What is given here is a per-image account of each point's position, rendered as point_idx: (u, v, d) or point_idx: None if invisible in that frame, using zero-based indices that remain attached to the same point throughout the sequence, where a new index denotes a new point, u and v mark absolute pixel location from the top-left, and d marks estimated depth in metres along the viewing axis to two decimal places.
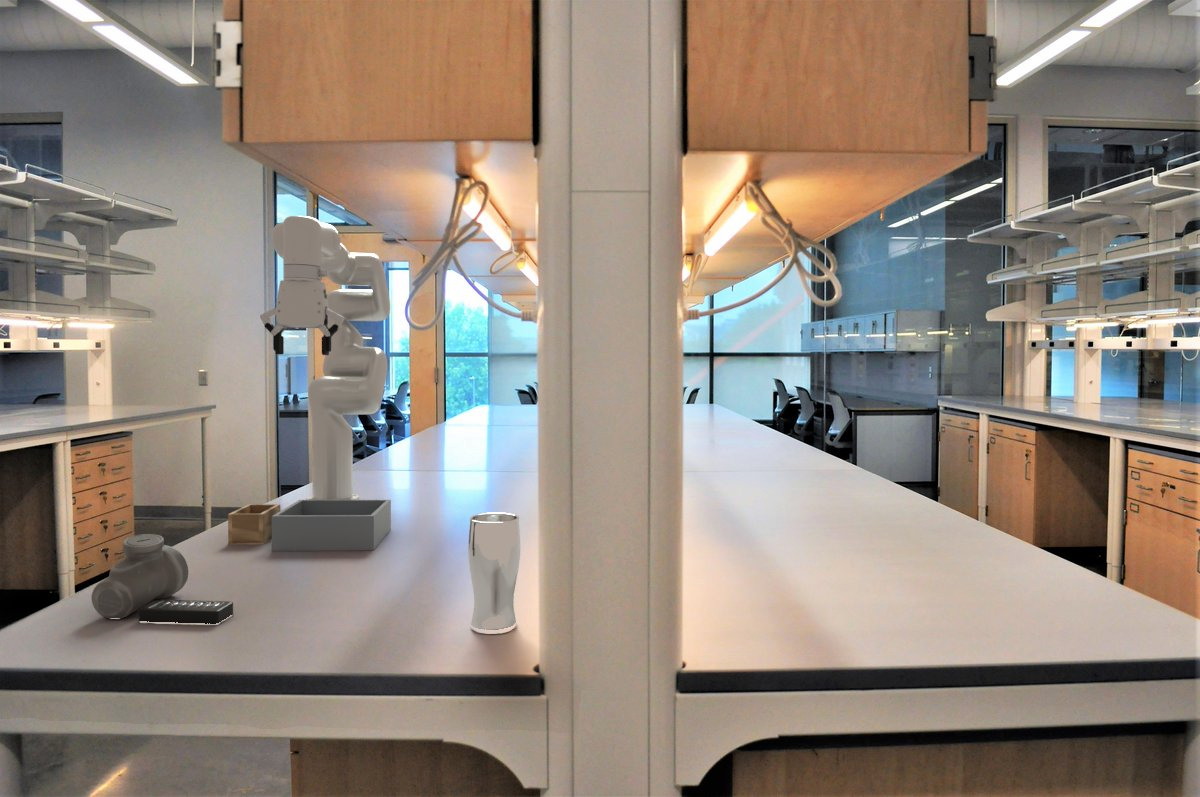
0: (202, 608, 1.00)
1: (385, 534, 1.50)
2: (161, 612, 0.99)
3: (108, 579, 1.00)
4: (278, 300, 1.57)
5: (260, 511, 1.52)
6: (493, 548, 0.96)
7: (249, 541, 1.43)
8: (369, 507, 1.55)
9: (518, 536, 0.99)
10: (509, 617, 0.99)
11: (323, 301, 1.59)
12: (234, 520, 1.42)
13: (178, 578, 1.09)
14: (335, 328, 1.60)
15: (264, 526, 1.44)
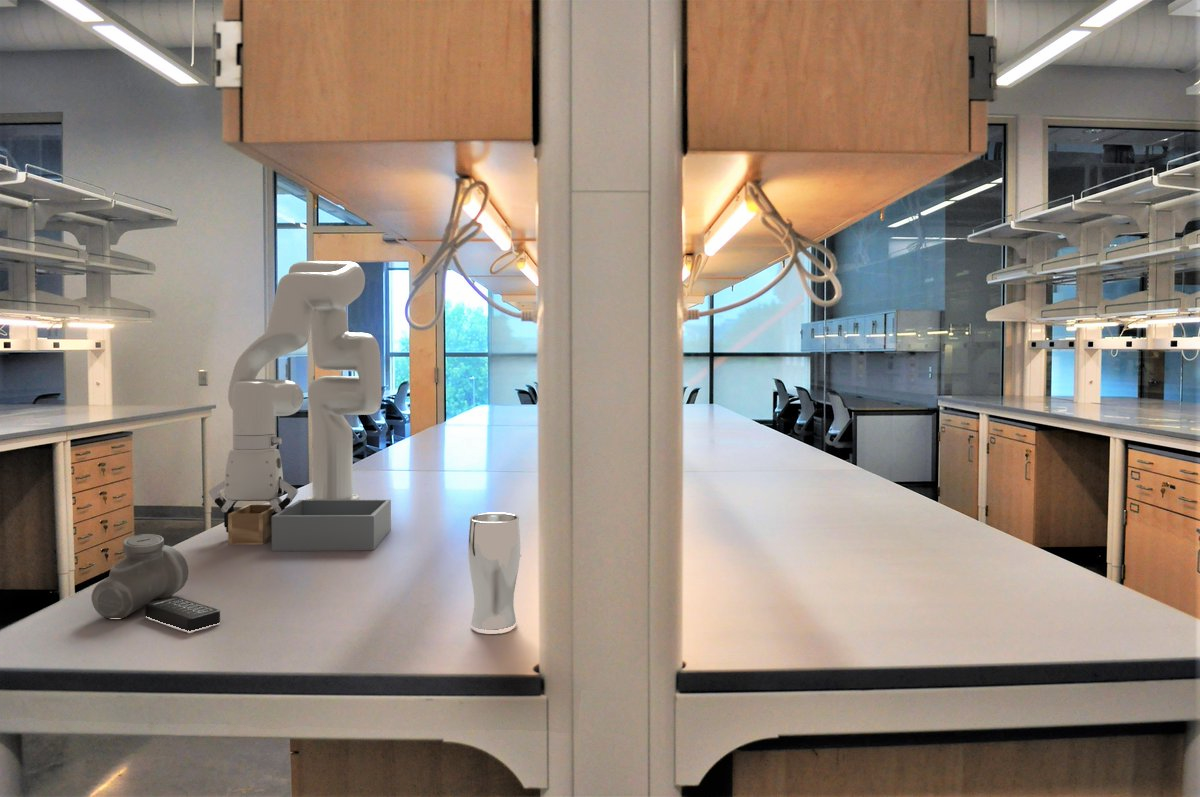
0: (185, 613, 0.98)
1: (385, 534, 1.50)
2: (156, 610, 1.00)
3: (108, 579, 1.00)
4: (226, 473, 1.44)
5: (260, 511, 1.52)
6: (493, 548, 0.96)
7: (249, 541, 1.43)
8: (369, 507, 1.55)
9: (518, 536, 0.99)
10: (509, 617, 0.99)
11: (276, 472, 1.46)
12: (234, 520, 1.42)
13: (178, 578, 1.09)
14: (287, 502, 1.47)
15: (264, 526, 1.44)
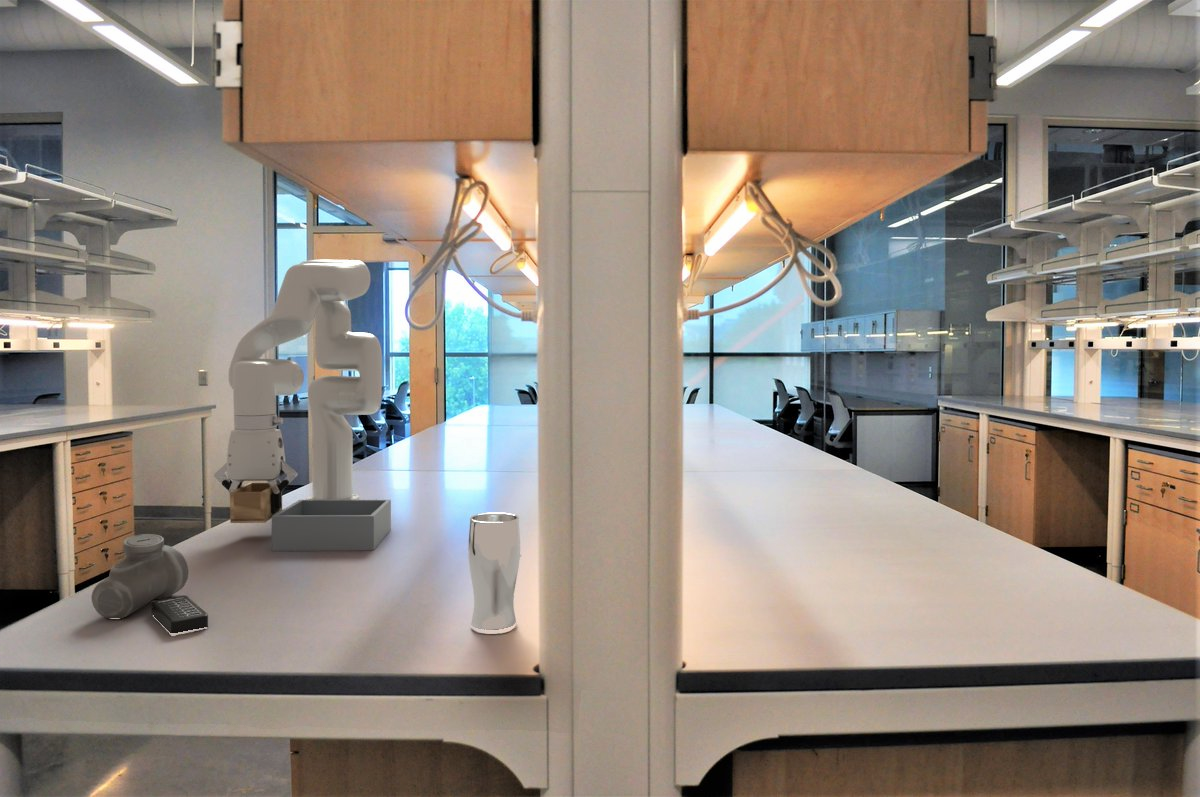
0: (175, 615, 0.97)
1: (385, 534, 1.50)
2: (156, 609, 1.00)
3: (108, 579, 1.00)
4: (229, 453, 1.45)
5: (262, 489, 1.52)
6: (493, 548, 0.96)
7: (251, 519, 1.43)
8: (369, 507, 1.55)
9: (518, 536, 0.99)
10: (509, 617, 0.99)
11: (278, 452, 1.46)
12: (235, 498, 1.43)
13: (178, 578, 1.09)
14: (285, 484, 1.47)
15: (266, 504, 1.44)
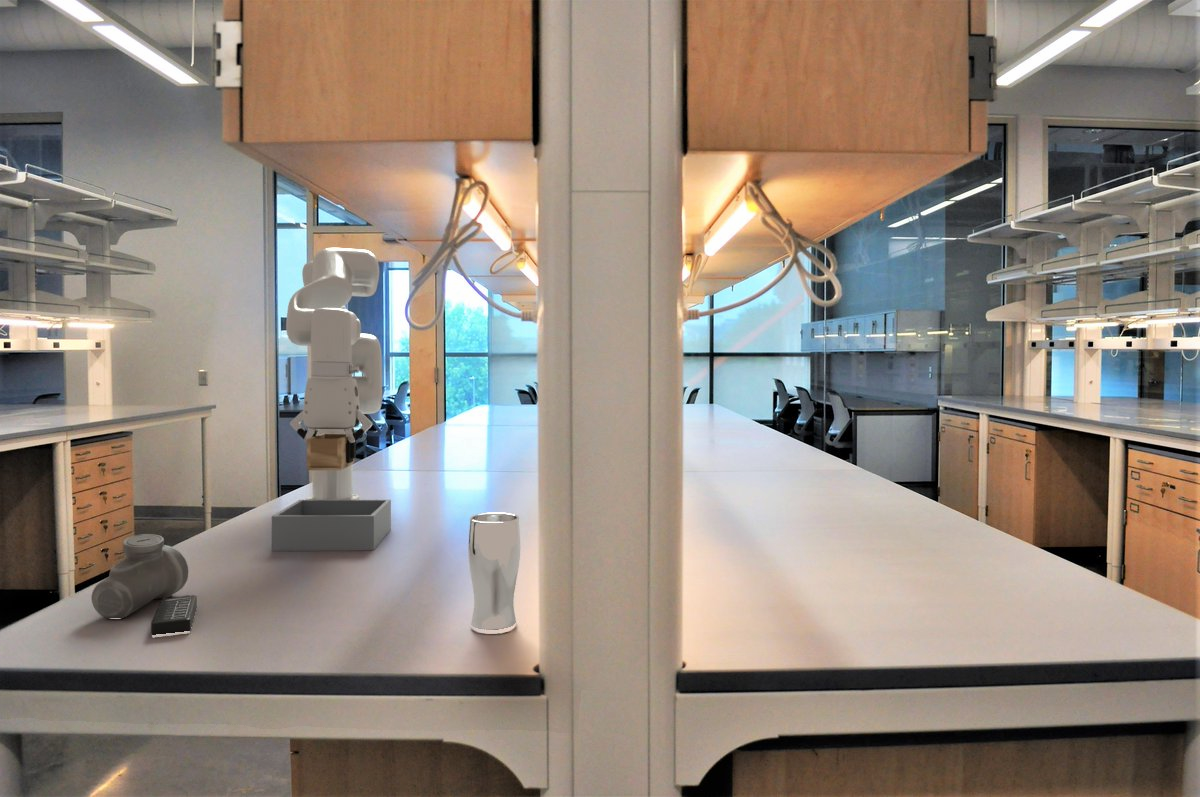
0: (162, 616, 0.97)
1: (385, 534, 1.50)
2: None
3: (108, 579, 1.00)
4: (305, 400, 1.43)
5: None
6: (493, 548, 0.96)
7: (327, 466, 1.41)
8: (369, 507, 1.55)
9: (518, 536, 0.99)
10: (509, 617, 0.99)
11: (354, 400, 1.45)
12: (312, 445, 1.41)
13: (178, 578, 1.09)
14: (360, 433, 1.46)
15: (342, 451, 1.42)
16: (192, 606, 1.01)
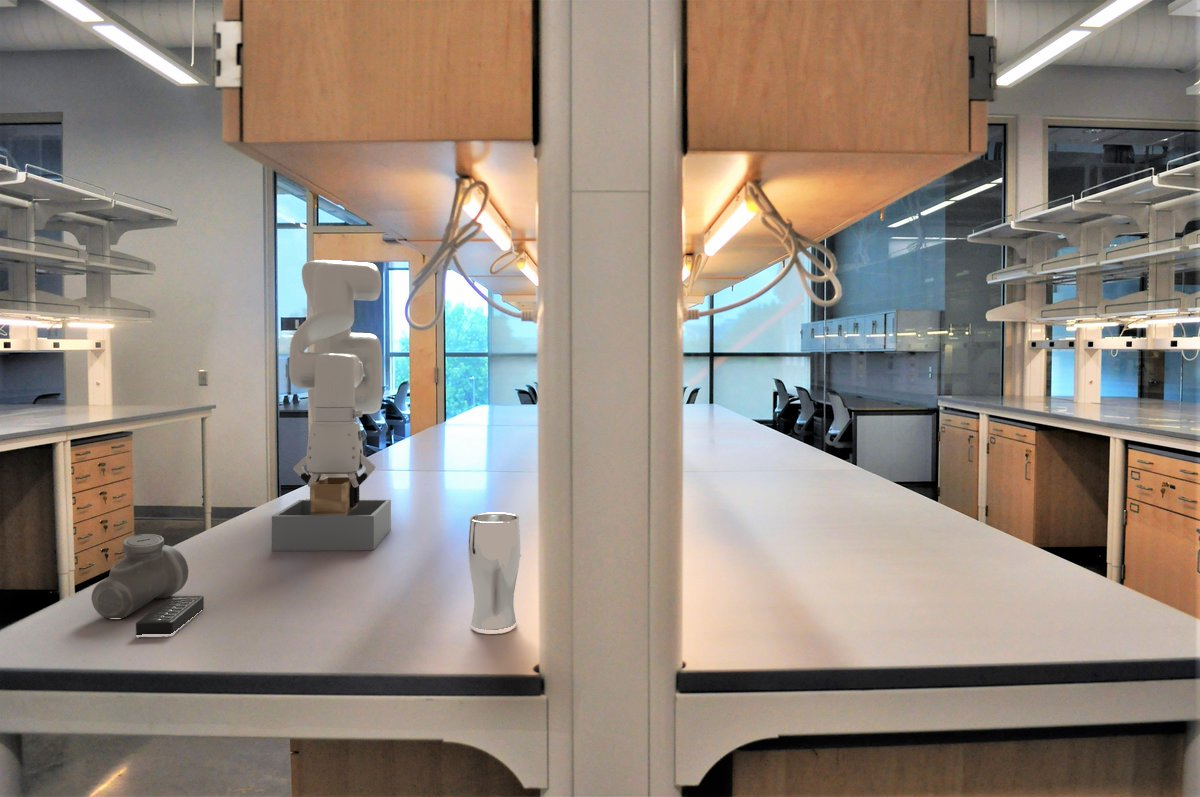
0: (152, 616, 0.97)
1: (385, 534, 1.50)
2: None
3: (108, 579, 1.00)
4: (309, 445, 1.44)
5: (338, 484, 1.51)
6: (493, 548, 0.96)
7: (331, 512, 1.42)
8: (369, 507, 1.55)
9: (518, 536, 0.99)
10: (509, 617, 0.99)
11: (358, 445, 1.45)
12: (316, 490, 1.41)
13: (178, 578, 1.09)
14: (364, 478, 1.46)
15: (346, 497, 1.43)
16: (188, 608, 1.00)
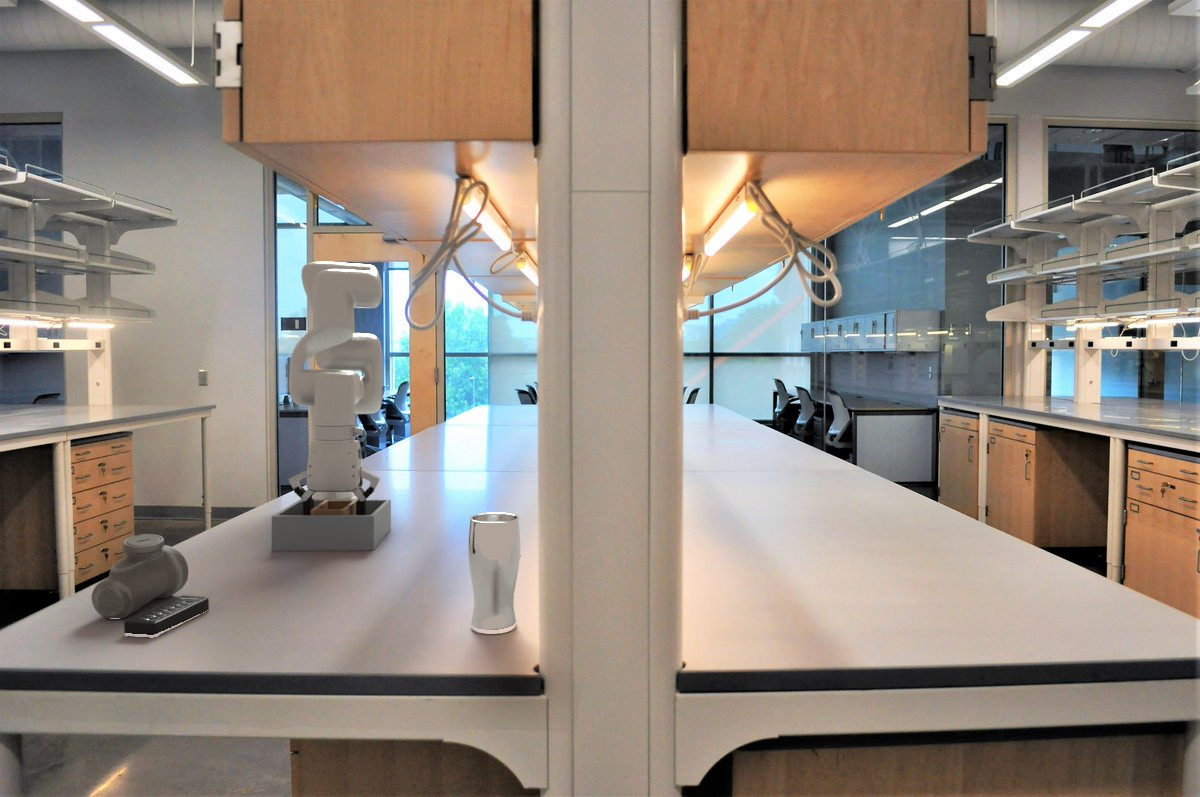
0: (144, 615, 0.97)
1: (385, 534, 1.50)
2: None
3: (108, 579, 1.00)
4: (309, 464, 1.44)
5: (338, 507, 1.51)
6: (493, 548, 0.96)
7: None
8: (369, 507, 1.55)
9: (518, 536, 0.99)
10: (509, 617, 0.99)
11: (358, 463, 1.45)
12: None
13: (178, 578, 1.09)
14: (370, 491, 1.46)
15: None
16: (182, 609, 1.00)
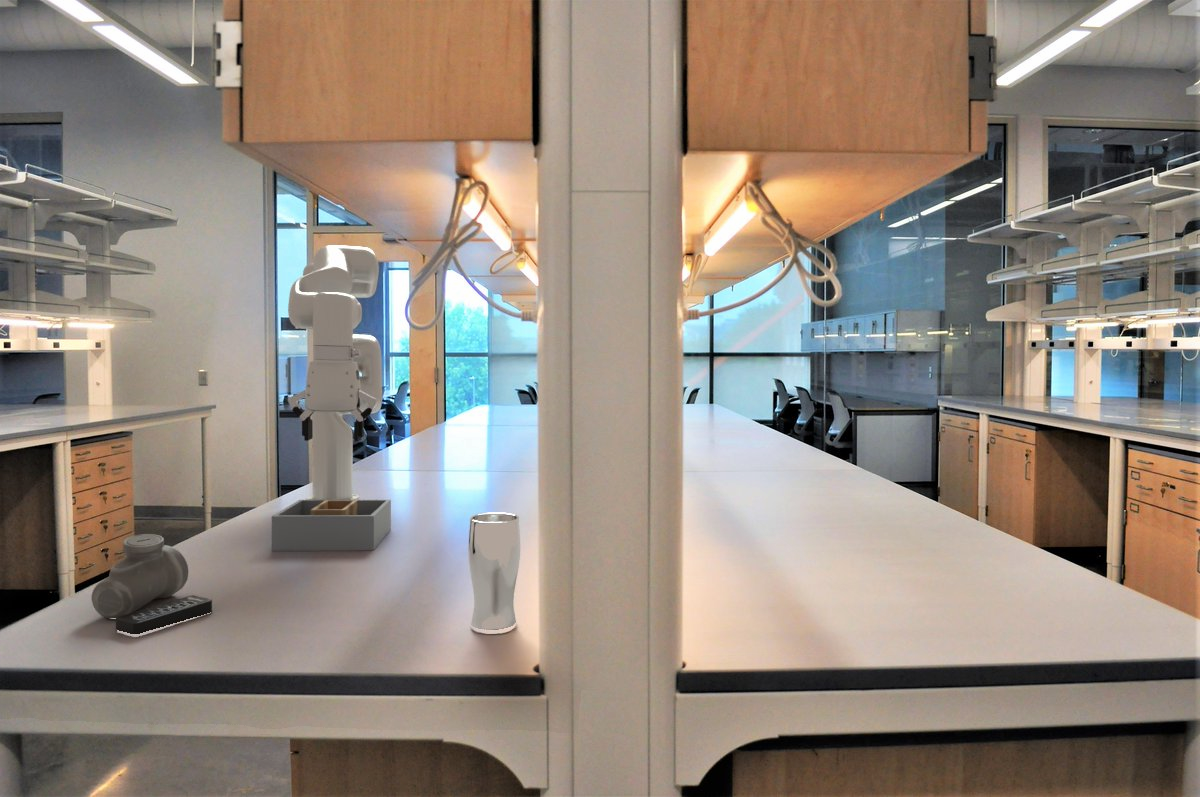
0: (139, 613, 0.98)
1: (385, 534, 1.50)
2: None
3: (108, 579, 1.00)
4: (307, 383, 1.46)
5: (338, 507, 1.51)
6: (493, 548, 0.96)
7: None
8: (369, 507, 1.55)
9: (518, 536, 0.99)
10: (509, 617, 0.99)
11: (356, 384, 1.47)
12: None
13: (178, 578, 1.09)
14: (368, 412, 1.48)
15: None
16: (176, 610, 0.99)
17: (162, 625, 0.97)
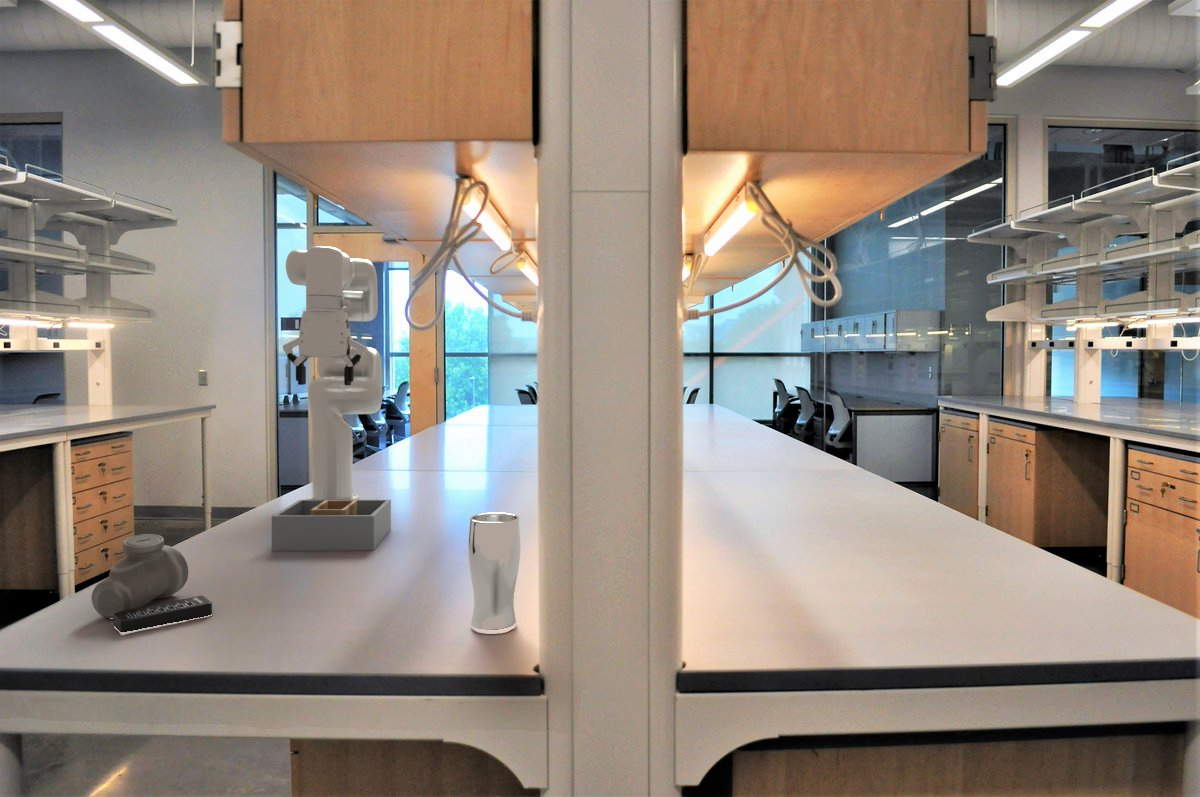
0: (137, 610, 0.99)
1: (385, 534, 1.50)
2: None
3: (108, 579, 1.00)
4: (301, 331, 1.57)
5: (338, 507, 1.51)
6: (493, 548, 0.96)
7: None
8: (369, 507, 1.55)
9: (518, 536, 0.99)
10: (509, 617, 0.99)
11: (346, 331, 1.58)
12: None
13: (178, 578, 1.09)
14: (357, 358, 1.59)
15: None
16: (169, 611, 0.99)
17: (152, 625, 0.97)
